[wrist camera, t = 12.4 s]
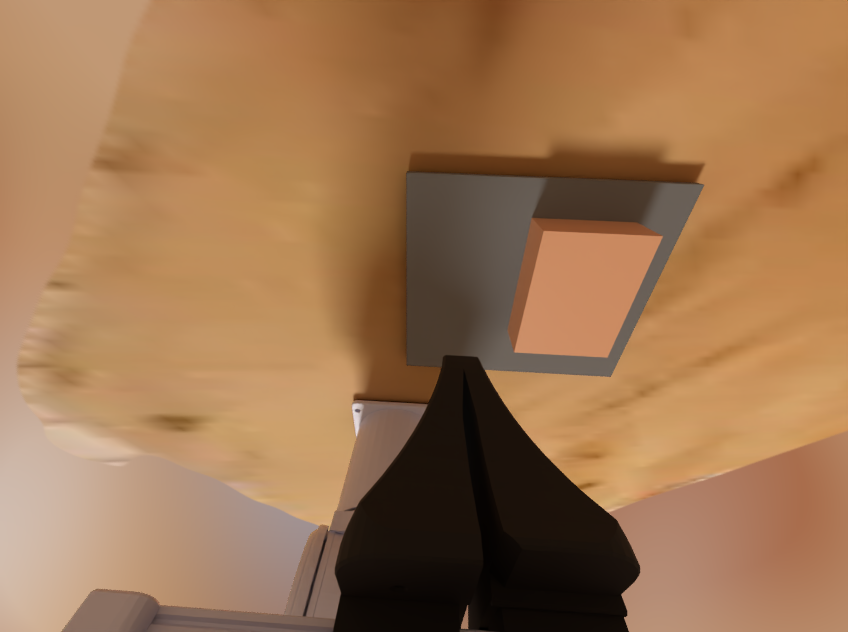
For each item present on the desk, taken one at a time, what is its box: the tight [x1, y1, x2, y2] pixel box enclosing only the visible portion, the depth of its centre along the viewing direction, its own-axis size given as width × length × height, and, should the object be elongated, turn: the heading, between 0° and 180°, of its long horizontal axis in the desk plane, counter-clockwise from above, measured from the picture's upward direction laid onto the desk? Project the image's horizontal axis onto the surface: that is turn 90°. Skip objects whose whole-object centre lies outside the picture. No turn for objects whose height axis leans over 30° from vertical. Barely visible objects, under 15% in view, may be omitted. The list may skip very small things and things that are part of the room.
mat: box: [406, 171, 704, 377], centre depth 21 cm, size 14×16×1 cm
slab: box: [507, 218, 663, 358], centre depth 19 cm, size 8×2×6 cm
